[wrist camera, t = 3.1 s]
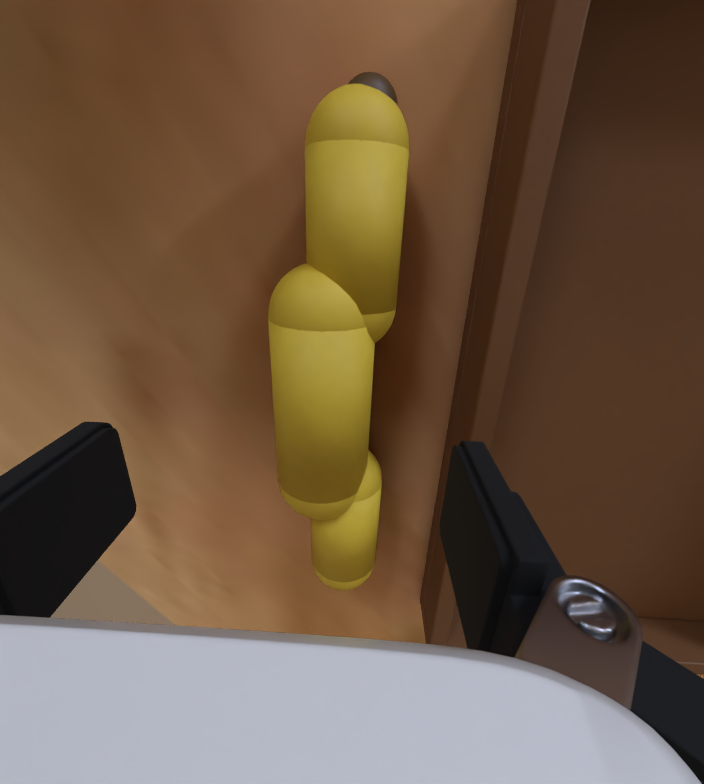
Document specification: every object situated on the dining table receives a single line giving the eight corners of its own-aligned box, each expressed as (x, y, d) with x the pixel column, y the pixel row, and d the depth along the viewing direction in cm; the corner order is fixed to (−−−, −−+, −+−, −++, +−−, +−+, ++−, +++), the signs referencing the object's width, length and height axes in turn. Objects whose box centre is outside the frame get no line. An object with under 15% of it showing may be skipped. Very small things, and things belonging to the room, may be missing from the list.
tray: (524, -47, 10) (584, -152, 7) (1138, -36, 9) (1456, -146, 7) (419, 599, 20) (427, 656, 18) (706, 617, 20) (759, 679, 17)
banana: (251, 81, 11) (252, 21, 8) (388, 98, 12) (442, 53, 9) (281, 561, 19) (289, 630, 16) (361, 546, 20) (383, 608, 17)
